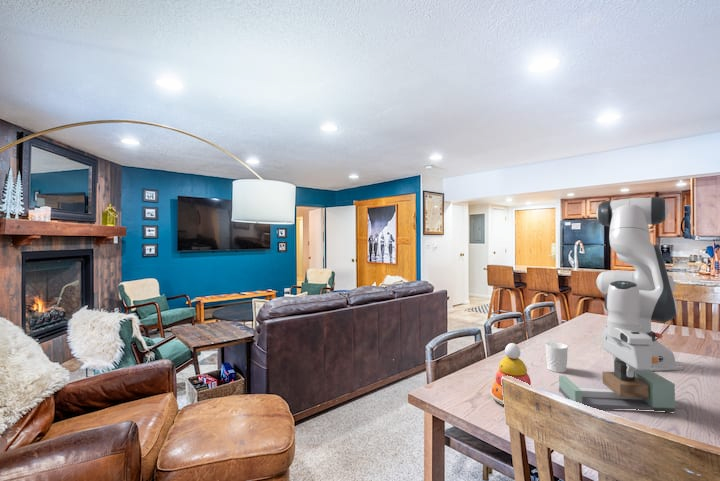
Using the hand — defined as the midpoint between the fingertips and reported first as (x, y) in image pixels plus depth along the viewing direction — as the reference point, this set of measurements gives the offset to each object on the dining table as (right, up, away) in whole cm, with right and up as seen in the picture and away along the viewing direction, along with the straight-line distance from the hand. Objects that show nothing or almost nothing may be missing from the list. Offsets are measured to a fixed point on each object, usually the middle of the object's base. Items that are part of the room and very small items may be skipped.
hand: (624, 373), depth 110 cm
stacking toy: (-35, -10, +3) cm, 37 cm away
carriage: (0, -6, 0) cm, 6 cm away
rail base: (-3, -10, +1) cm, 10 cm away
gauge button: (+7, +2, -1) cm, 8 cm away
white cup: (-6, -10, +27) cm, 30 cm away
